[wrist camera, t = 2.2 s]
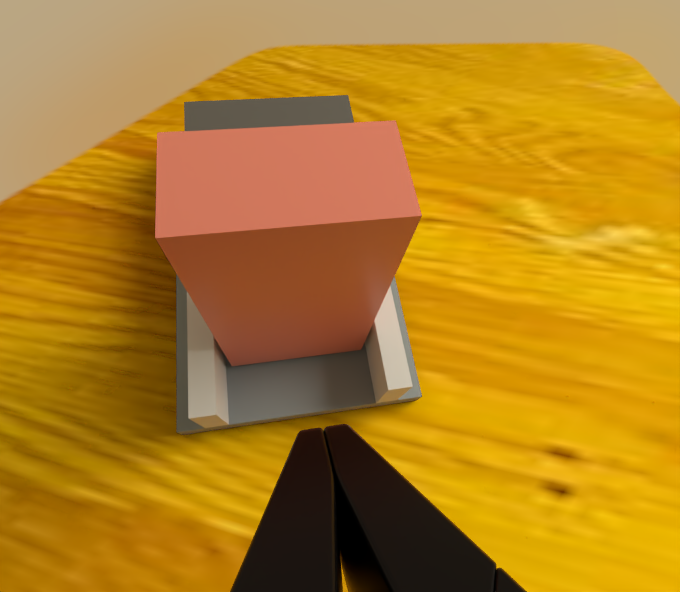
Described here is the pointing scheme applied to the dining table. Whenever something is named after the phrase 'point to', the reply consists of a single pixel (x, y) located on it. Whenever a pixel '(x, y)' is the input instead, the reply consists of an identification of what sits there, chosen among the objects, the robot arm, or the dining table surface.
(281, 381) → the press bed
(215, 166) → the plug
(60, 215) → the dining table surface
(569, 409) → the dining table surface
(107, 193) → the dining table surface
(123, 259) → the dining table surface
